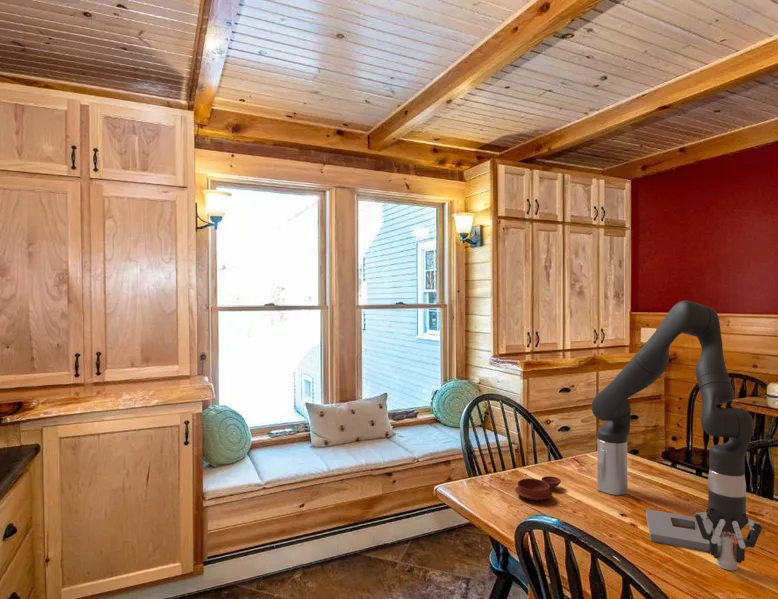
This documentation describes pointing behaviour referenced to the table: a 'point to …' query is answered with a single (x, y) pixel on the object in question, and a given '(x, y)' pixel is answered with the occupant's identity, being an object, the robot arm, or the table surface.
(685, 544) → the socket dock
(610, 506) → the table surface
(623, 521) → the table surface
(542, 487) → the pottery
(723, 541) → the rook chess piece
